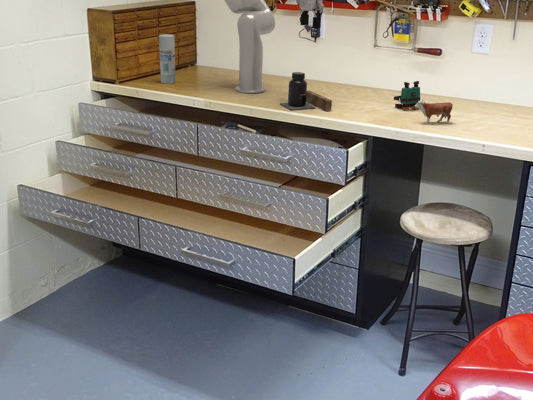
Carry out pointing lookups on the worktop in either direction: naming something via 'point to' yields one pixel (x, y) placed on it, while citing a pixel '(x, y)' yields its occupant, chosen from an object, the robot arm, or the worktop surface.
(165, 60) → the spray paint can
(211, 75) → the worktop surface
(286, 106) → the pad
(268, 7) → the robot arm
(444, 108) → the bull figurine
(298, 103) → the supplement bottle
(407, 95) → the binoculars
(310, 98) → the walnut rail
